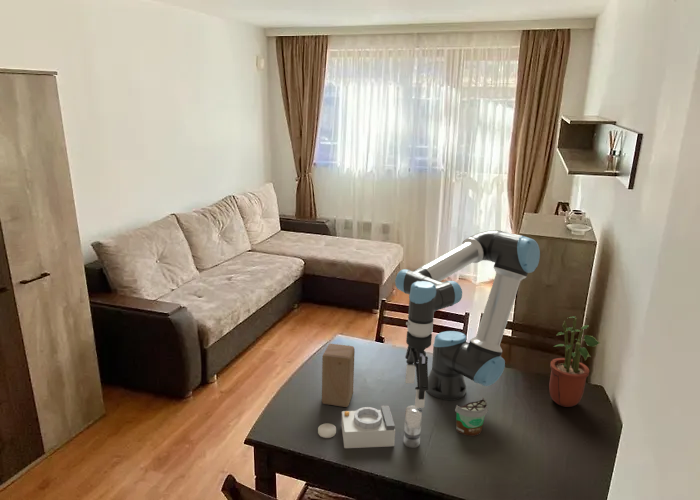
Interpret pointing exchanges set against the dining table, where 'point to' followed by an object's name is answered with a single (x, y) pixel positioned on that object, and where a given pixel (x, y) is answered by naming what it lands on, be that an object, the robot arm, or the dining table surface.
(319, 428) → the rear cap
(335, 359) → the wooden block
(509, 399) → the dining table surface
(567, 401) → the potted plant
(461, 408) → the food container
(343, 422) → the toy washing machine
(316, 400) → the dining table surface
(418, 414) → the grey tall rounded cylinder
